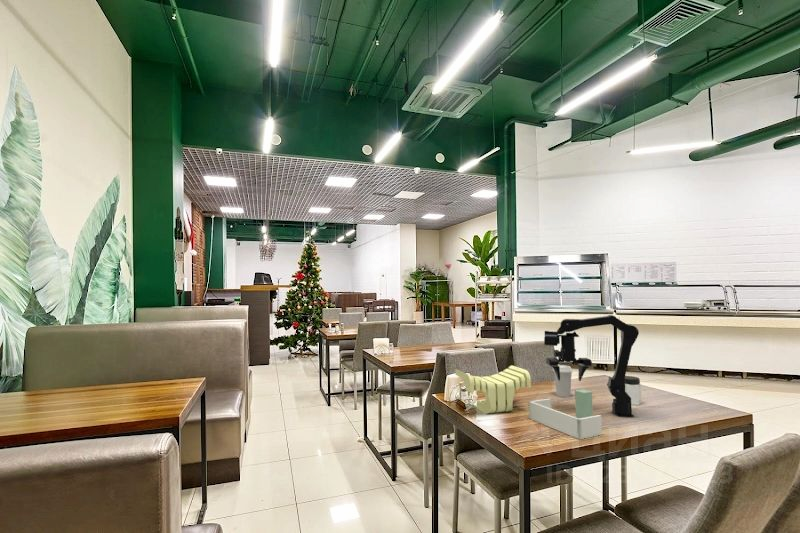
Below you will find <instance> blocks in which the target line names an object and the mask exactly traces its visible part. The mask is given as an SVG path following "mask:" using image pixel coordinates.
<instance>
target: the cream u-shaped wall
mask: <svg viewBox="0 0 800 533" xmlns="http://www.w3.org/2000/svg"><path fill="white" fill-rule="evenodd" d="M602 417H603V416H602V415H601V414H597V415H593V416H590V417H585V418H580V419H579V418H576V416H572V415H569V414H568V413H565V412H562V411H559V410H556V409H553V408H552V398H545V399H543V398H542V399H537V400H530V401H528V418H529V419H530V420H533V421H535V422H537V423H539V424H541V425H543V426H546V427H549V428H552V429H554V430H557V431H559V432H561V433H563V434H566V435H568V436H571V437H573V438H575V439H577V438H578V440H584V438H585V439H589V438H594V437H598V435H599V436H602V435H603V421H602V420H603V419H602ZM593 436H594V437H593Z"/></svg>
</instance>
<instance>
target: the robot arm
mask: <svg viewBox="0 0 800 533" xmlns="http://www.w3.org/2000/svg"><path fill="white" fill-rule="evenodd" d="M607 325H612V327H615V328H616V329H618V330H619V331H620V348H619V352H618V356H617V361H616V366H615V370H614V374H613V375H612V377H611V376H608V379H607V380H608V381H607V383H606V386H607V388H608V389H607V390H608V392H609V393H610V394H611V396H612V397H614V398H613V399H612V402H611V405H612V406H611V407H612V408H611V409H612V410H611V413H613V414H614V415H616V416H617V417H631V418H633V417H635V416H634V414H633V411H632V410H633V409H632V405H631V397H630V396H629V395H628V394H627V393H626V392H625V376H626V373H627V368H628V365H629V361H630V356H631V353H632V352H631V351H632V347H633V346H634V344H635V343H636V341H637V339H638V337H639V329H638V328H637V326H635V325H632V324H627V323H625V321H622V320H621V319H619V318H618V317H616V316H615V315H612V314H609V315H605V316H598V317H597V316H596V317H590V318H583V319H579V318H564V319H562V320H561V322H560V326H559V328H558V329H557V330H556V331H553V330H552V331H551V330H550V331H549V330H544V338H543V340H544V344H543V345H544V346H551V347H555V346H556V347H558V345H560V351H559V349H554V350H553V356H554V357H547V358H546V360H545V361H546V362H545V363H546V364H547V365H548V366H550V367H552V370H553V369H554V371H555V373H556V376H557V378H558V380H559V381H560V367H559V366H558V365H566V364H570V365H571V364H572V365H573V364H574V365H575V364H577V367H578V381H579V382H581V380H582V378H583V376H584V374H585V372H586V370H587V369H589V368H590V367H592V366H593V361H592V360H591V359H590V358H588V357H578V359H577V358H576V352H577V350H576V345H575V343H576V342H575V338H579V337H580V335H579V334H577V333H576V331H577V330H580V329H583V328H591V327H592V328H593V327H599V326H607ZM560 342H561V344H560ZM554 371H553V372H554Z"/></svg>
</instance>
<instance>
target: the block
mask: <svg viewBox="0 0 800 533" xmlns="http://www.w3.org/2000/svg"><path fill="white" fill-rule="evenodd" d="M574 397H575V398H574V401H575V402H574V403H575V404H574V405H575V417H576V418H579V419H580V418H585V417H590V416H594V413H593V410H594V409H593V392H592V391H591V390H587V389H576V390H575V389H574Z"/></svg>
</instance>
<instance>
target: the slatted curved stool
mask: <svg viewBox="0 0 800 533" xmlns="http://www.w3.org/2000/svg"><path fill="white" fill-rule="evenodd" d="M455 376H457V377H459V378H460V379H461V380H462V381H463V383H464V385H465V391H466V392H468V393H469V394H471V393H474V392H482V393H483V396H484V398H485V400H476V401H477V408H476V409H477V410H479V411H480V412H482V413H484V414H493V413H503V412H513V410H514V408H513V402H514V397H515V393H516V392H517V391H518V390H519V389H521V388H522V389H523V388H529V389H531V388H532V379H531V374H530V372H529V371H528V370H527V369H525V368H522V367H518V366H515V365H510V366H508V367H507V368H505V369H504V370H503V371H499V372H498V374H497V373H495V374H492V375H489V376H488V375H487V376H486V375H485V376H477V375H471V374H468V373H465V372H464V371H461V370H459V369H457V368H455ZM515 391H516V392H515Z"/></svg>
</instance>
